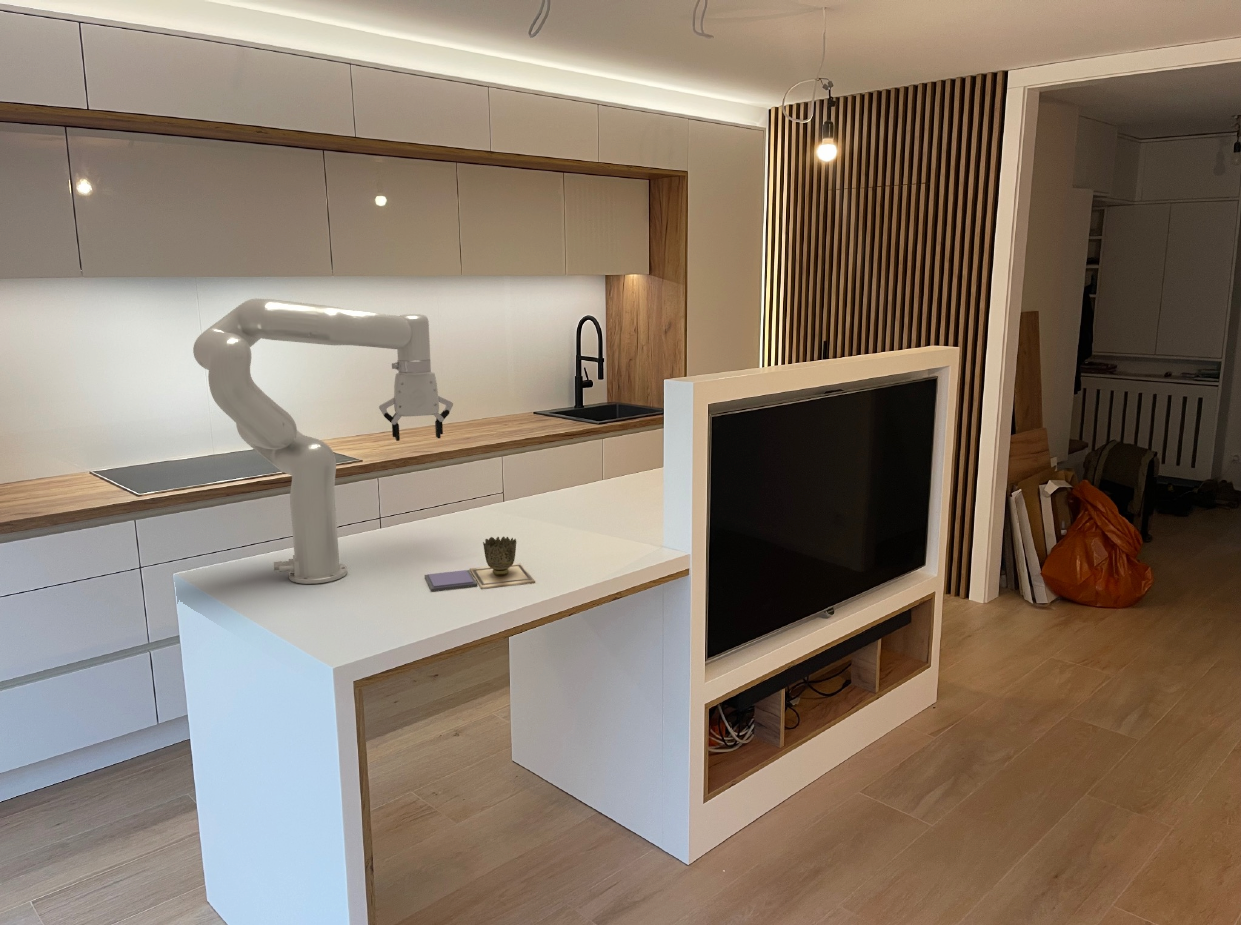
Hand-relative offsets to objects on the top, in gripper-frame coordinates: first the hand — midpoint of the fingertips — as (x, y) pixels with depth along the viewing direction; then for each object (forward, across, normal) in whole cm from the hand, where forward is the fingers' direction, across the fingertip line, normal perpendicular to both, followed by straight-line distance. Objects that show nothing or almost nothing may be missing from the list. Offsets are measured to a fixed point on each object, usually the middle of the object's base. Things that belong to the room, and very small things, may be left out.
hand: (418, 438), depth 223 cm
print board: (+28, +14, -25) cm, 40 cm away
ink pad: (+28, +2, -25) cm, 38 cm away
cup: (+28, +14, -25) cm, 40 cm away
